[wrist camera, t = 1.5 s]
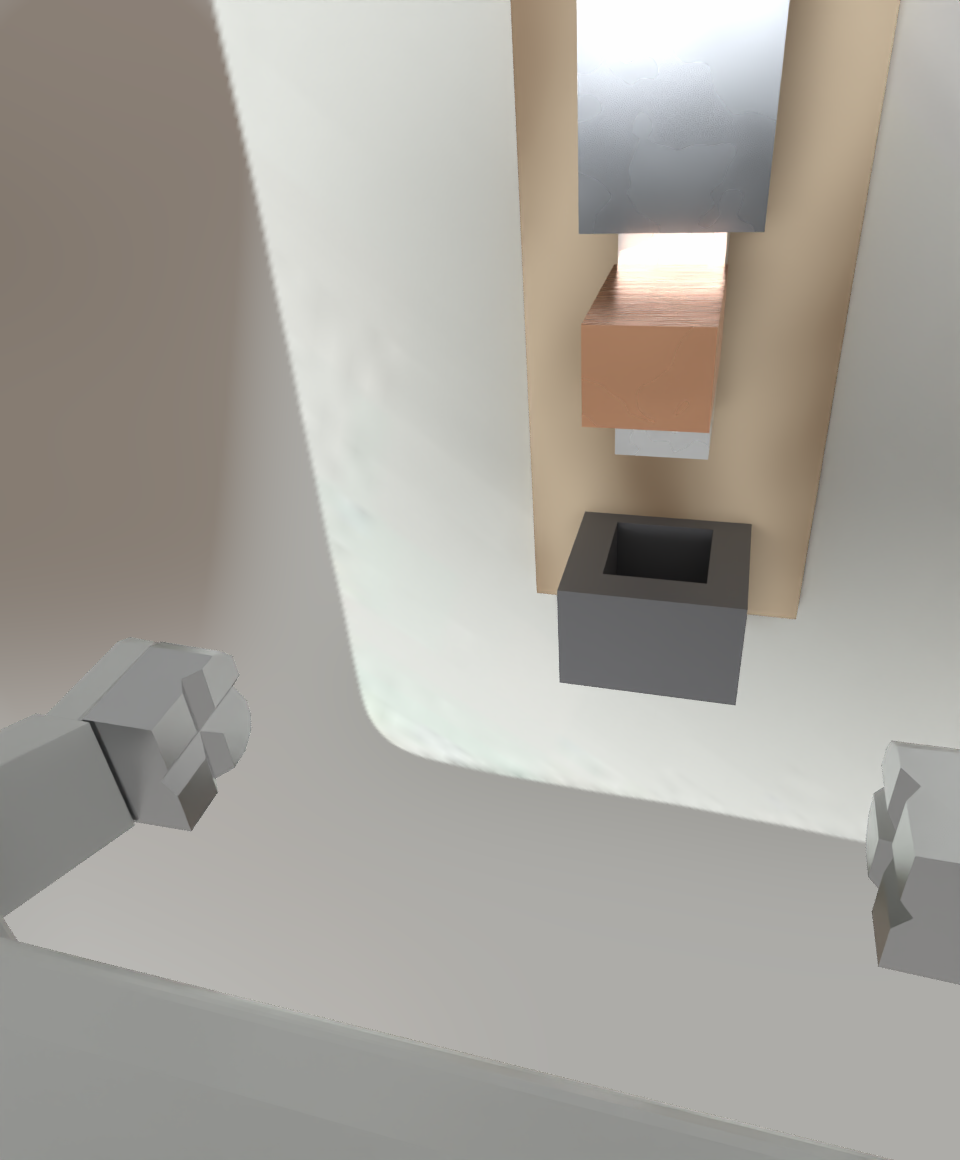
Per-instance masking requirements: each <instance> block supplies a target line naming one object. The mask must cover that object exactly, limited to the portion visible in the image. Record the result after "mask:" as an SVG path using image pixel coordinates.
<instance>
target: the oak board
mask: <svg viewBox="0 0 960 1160" xmlns="http://www.w3.org/2000/svg"><path fill="white" fill-rule="evenodd" d="M899 5H900V0H790V1H789V10H788V19H787V29H786V38H785V47H784V56H783V66H782V75H781V84H780V93H779V103H778V112H777V121H776V130H775V140H774V149H773V158H772V167H771V177H770V186H769V195H768V204H767V214H766V223H765V232H730V238H729V249H728V261H727V264H729V266H728V278H727V289H726V300H725V312H724V323H723V335H722V346H721V357H720V364H719V371H718V377H717V388H716V400H715V411H714V422H713V429H712V436H711V443H710V450H709V457H708V460H704V459H687V458H669V457H652V456H635V455H617V454H615V429H614V428H594V427H582V395H581V324H582V322H583V320H584V318H585V317H586V315H587V313H588V311H589V309H590V307H591V306H592V304H593V302H594V300H595V298H596V297H597V295H598V293H599V291H600V289H601V287H602V286H603V284H604V282H605V280H606V278H607V276H608V275H609V273H610V271H611V269H612V267H613V266H614V264H618V234H579V215H578V95H577V0H511V21H512V43H513V66H514V88H515V110H516V133H517V155H518V178H519V200H520V223H521V245H522V268H523V290H524V313H525V335H526V358H527V380H528V403H529V425H530V448H531V470H532V493H533V515H534V537H535V560H536V582H537V593H545V594H554V595H557V589H558V587H559V584H560V581H561V578H562V575H563V573H564V570H565V567H566V564H567V561H568V558H569V556H570V553H571V550H572V547H573V544H574V541H575V539H576V536H577V533H578V530H579V527H580V524H581V522H582V519H583V516H584V513H585V511H586V512H599V513H612V514H626V515H639V516H652V517H665V518H678V519H692V520H705V521H718V522H731V523H745V524H752V529H751V549H750V570H749V590H748V610H747V614H749V615H759V616H769V617H779V618H789V619H796V615H797V610H798V604H799V598H800V592H801V586H802V580H803V574H804V568H805V562H806V556H807V550H808V544H809V538H810V533H811V527H812V521H813V515H814V509H815V503H816V497H817V491H818V485H819V479H820V473H821V467H822V461H823V455H824V450H825V444H826V438H827V432H828V426H829V420H830V414H831V408H832V402H833V396H834V390H835V384H836V378H837V372H838V367H839V361H840V355H841V349H842V343H843V337H844V331H845V325H846V319H847V313H848V307H849V301H850V295H851V289H852V284H853V278H854V272H855V266H856V260H857V254H858V248H859V242H860V236H861V230H862V224H863V218H864V212H865V207H866V201H867V195H868V189H869V183H870V177H871V171H872V165H873V159H874V153H875V147H876V141H877V135H878V129H879V124H880V118H881V112H882V106H883V100H884V94H885V88H886V82H887V76H888V70H889V64H890V58H891V52H892V46H893V41H894V35H895V29H896V23H897V17H898V11H899Z"/></svg>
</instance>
